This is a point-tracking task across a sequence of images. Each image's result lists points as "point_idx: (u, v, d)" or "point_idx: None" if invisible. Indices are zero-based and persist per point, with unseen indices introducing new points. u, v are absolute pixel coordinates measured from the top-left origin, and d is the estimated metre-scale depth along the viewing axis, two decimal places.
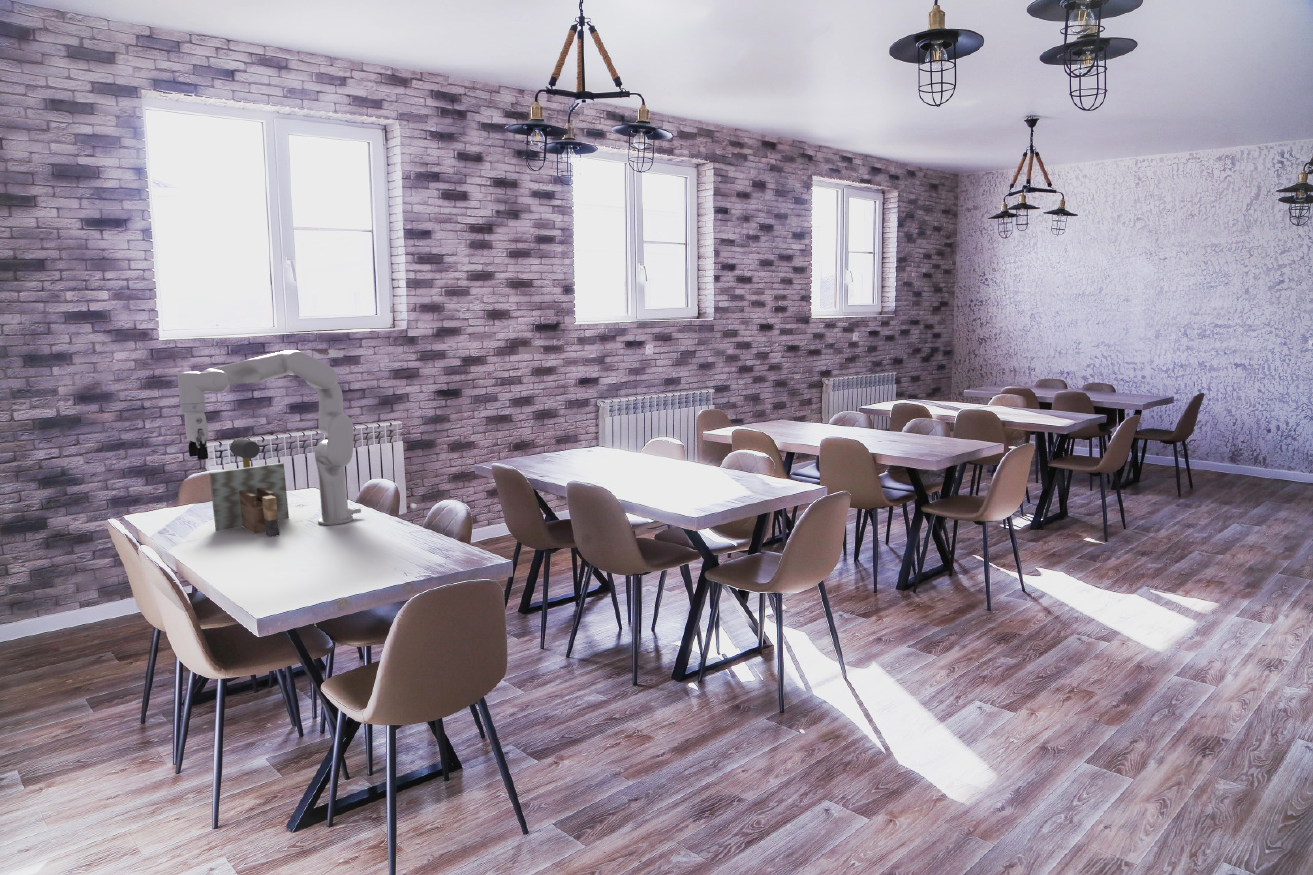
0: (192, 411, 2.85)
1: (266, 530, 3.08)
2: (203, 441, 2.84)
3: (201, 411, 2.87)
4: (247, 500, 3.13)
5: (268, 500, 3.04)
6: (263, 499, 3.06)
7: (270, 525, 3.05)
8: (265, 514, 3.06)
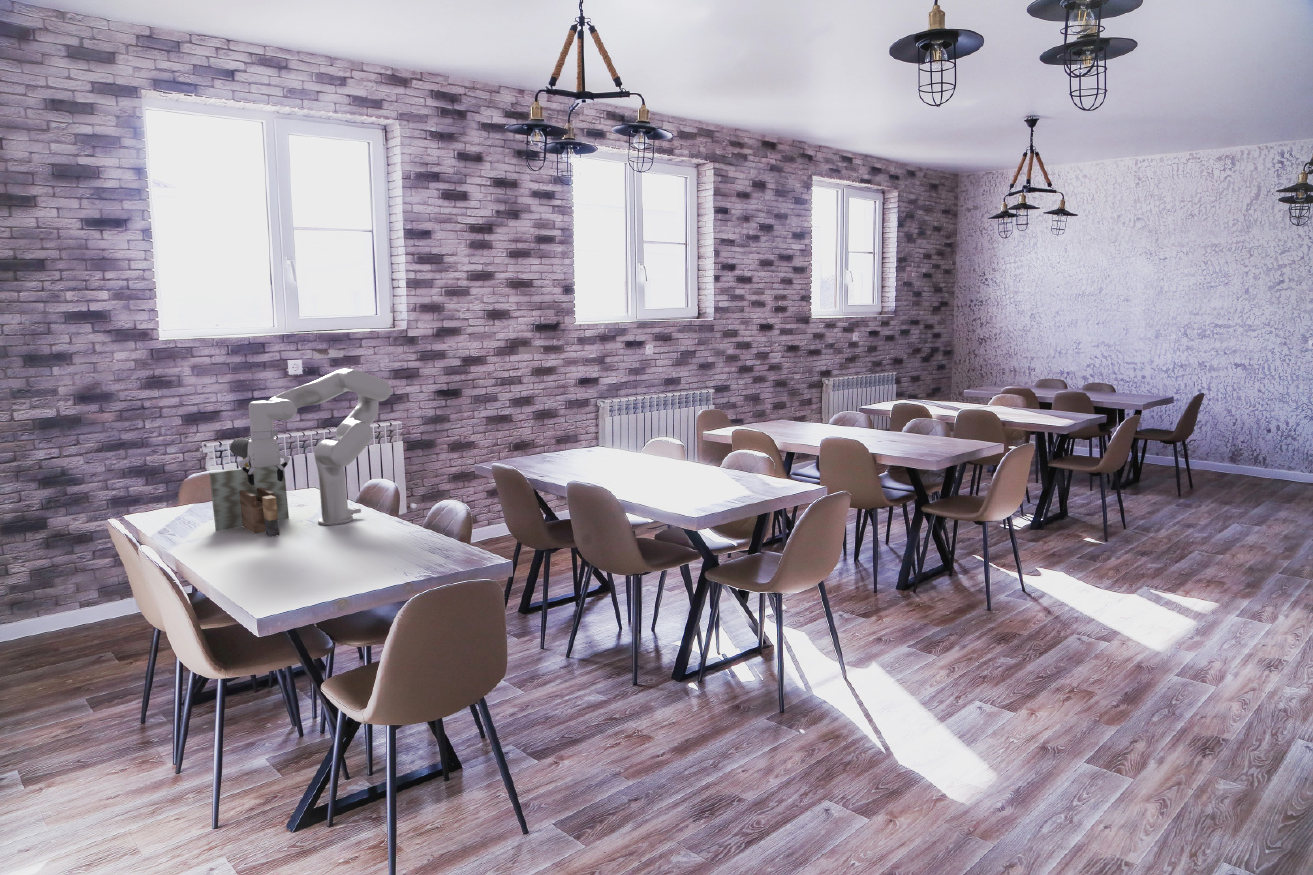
0: None
1: (266, 530, 3.08)
2: None
3: None
4: (247, 500, 3.13)
5: (268, 500, 3.04)
6: (263, 499, 3.06)
7: (270, 525, 3.05)
8: (265, 514, 3.06)
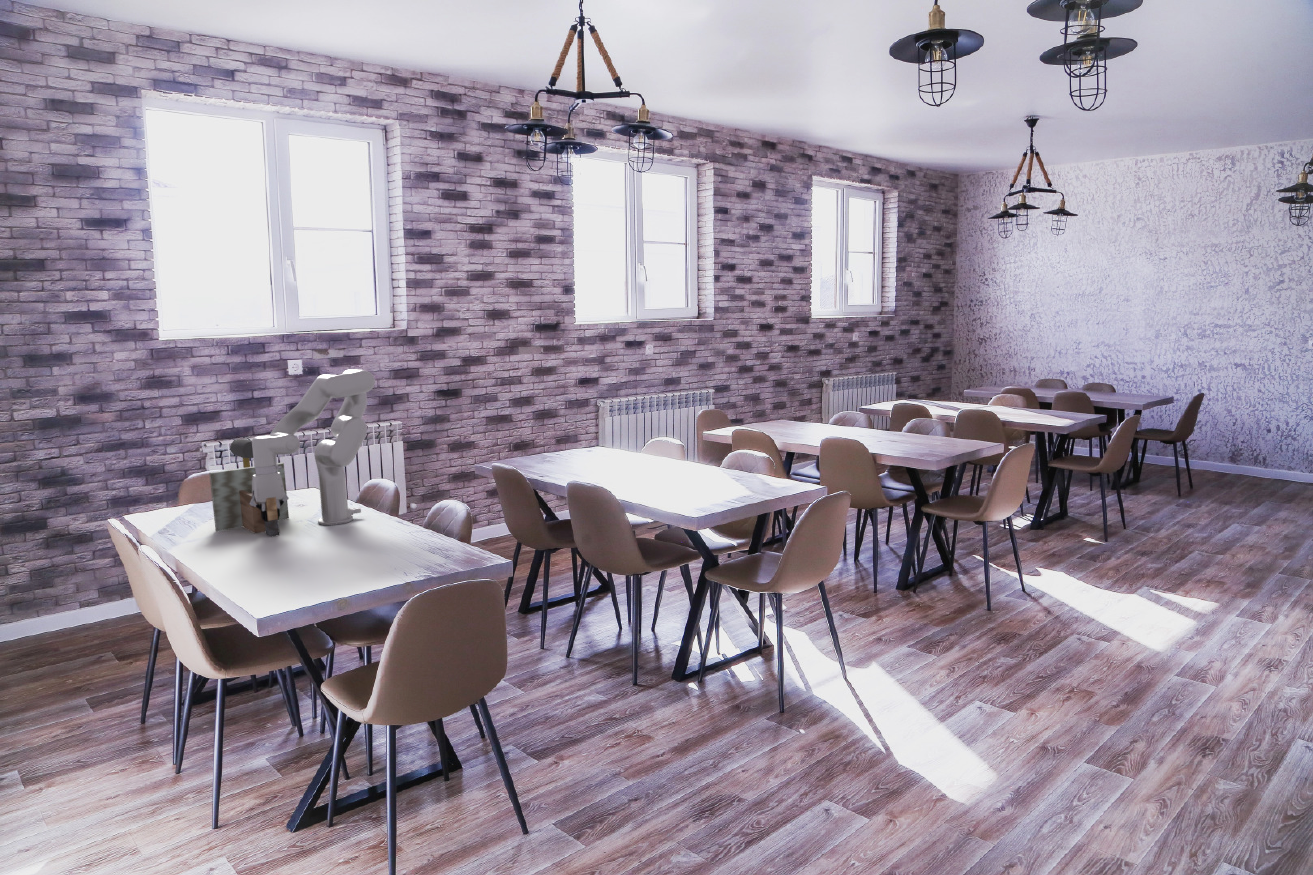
0: (277, 471, 3.06)
1: (266, 530, 3.08)
2: None
3: None
4: (247, 500, 3.13)
5: (268, 500, 3.04)
6: None
7: (270, 525, 3.05)
8: None
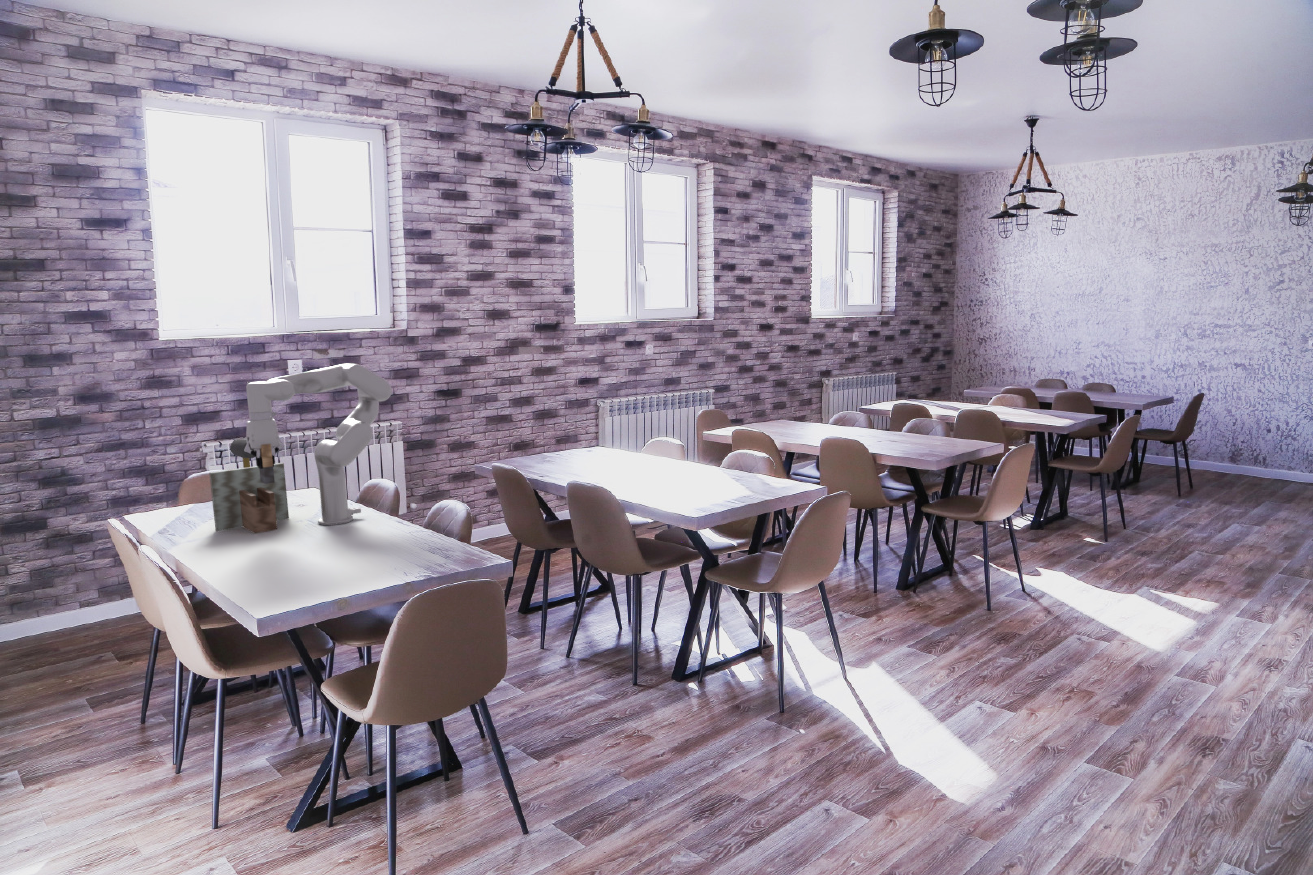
0: (272, 417, 3.03)
1: (261, 478, 3.05)
2: None
3: None
4: (247, 500, 3.13)
5: (263, 446, 3.01)
6: None
7: (265, 472, 3.02)
8: None
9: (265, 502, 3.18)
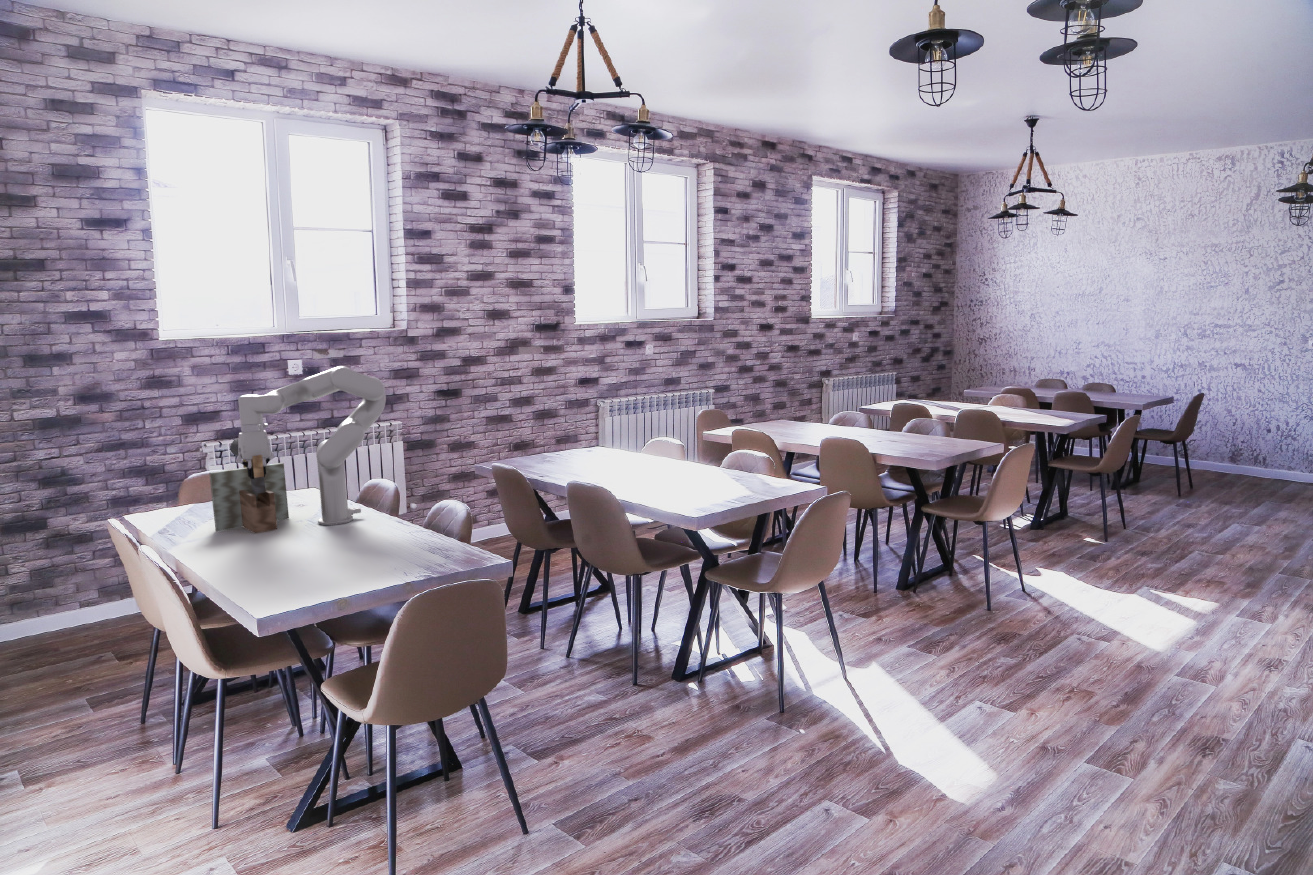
0: (264, 429, 3.12)
1: (253, 488, 3.13)
2: None
3: None
4: (247, 500, 3.13)
5: (254, 457, 3.10)
6: None
7: (256, 482, 3.11)
8: None
9: (265, 502, 3.18)
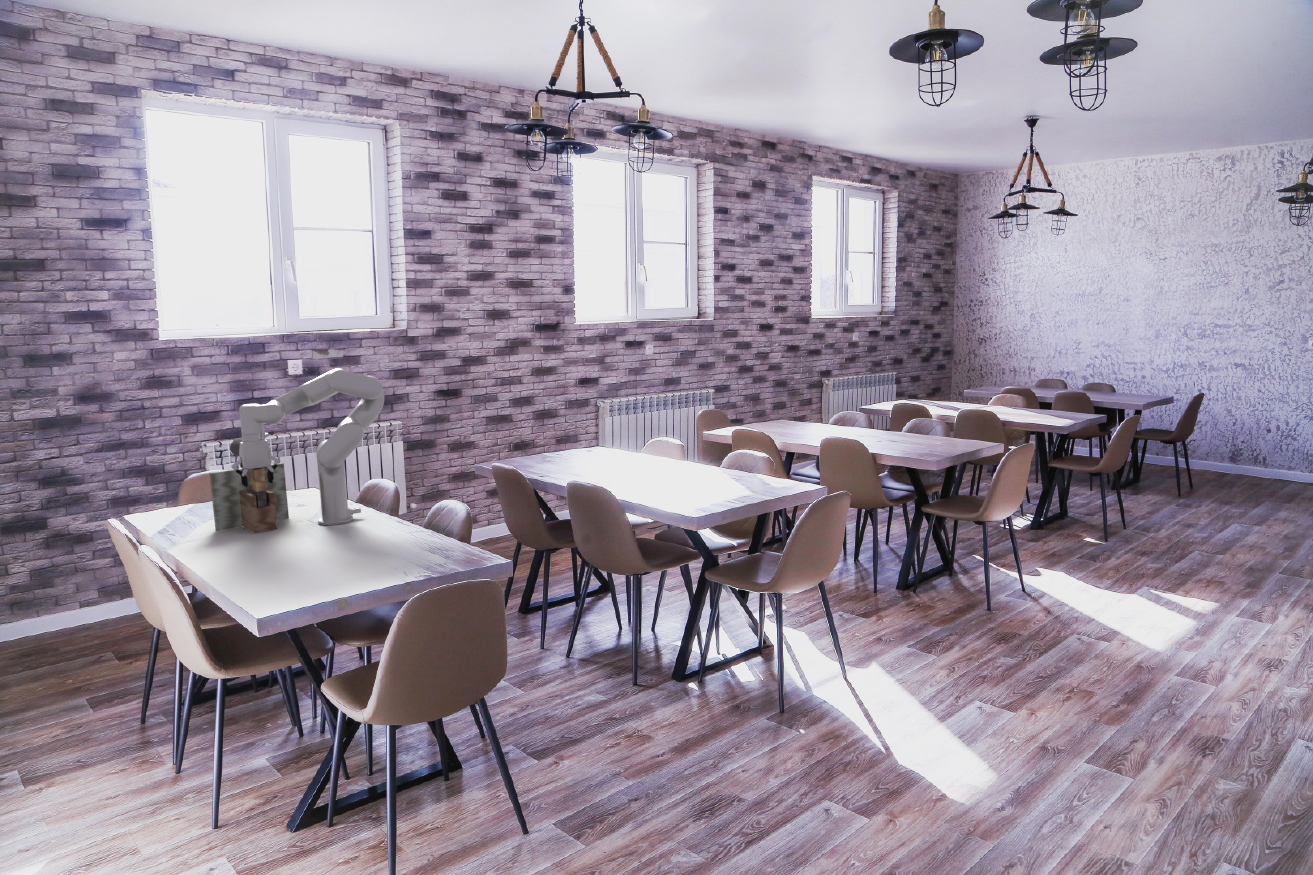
0: None
1: None
2: None
3: None
4: (247, 500, 3.13)
5: (256, 471, 3.10)
6: (251, 471, 3.13)
7: (258, 496, 3.12)
8: (253, 485, 3.13)
9: None
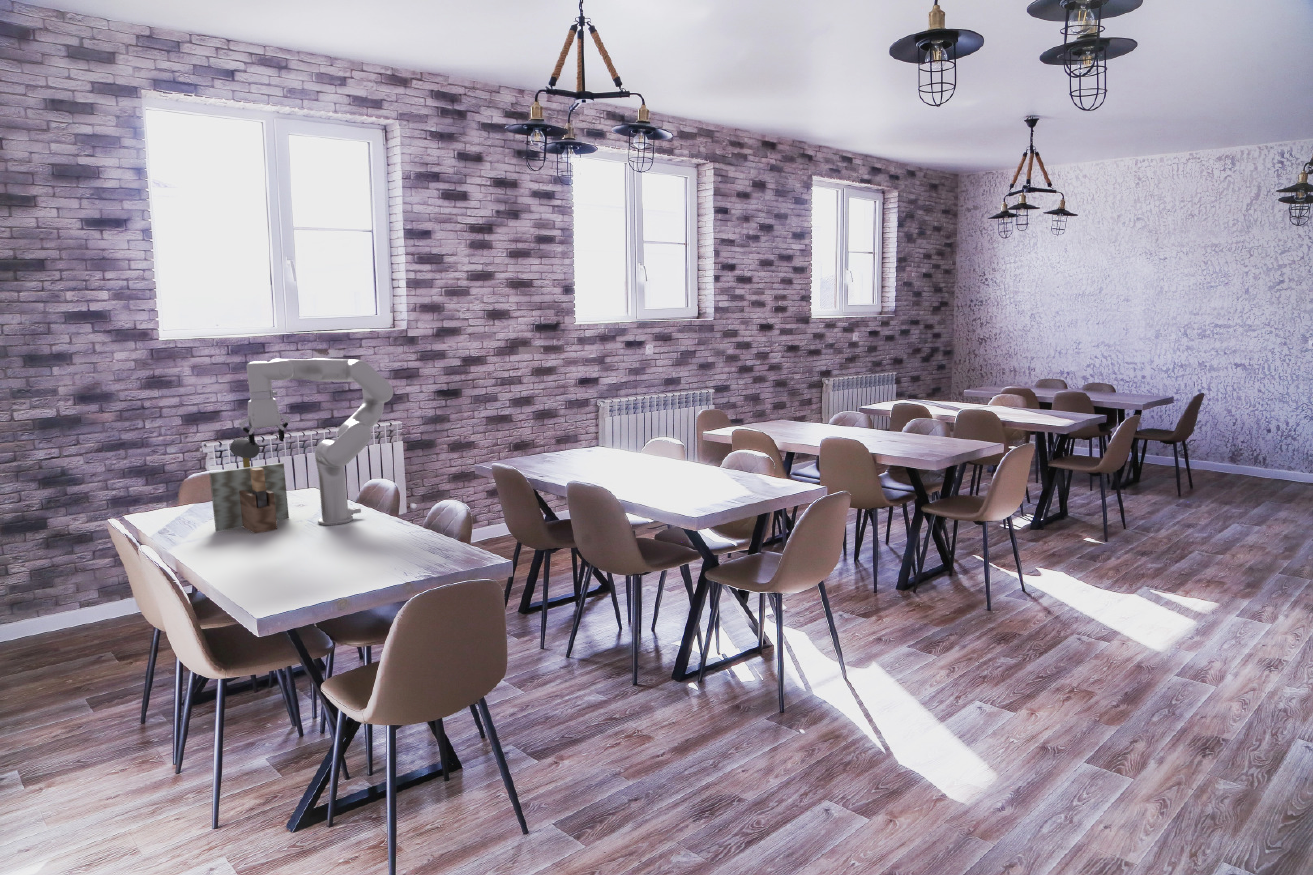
0: None
1: None
2: None
3: None
4: (247, 500, 3.13)
5: (256, 471, 3.10)
6: (251, 471, 3.13)
7: (258, 496, 3.12)
8: (253, 485, 3.13)
9: None
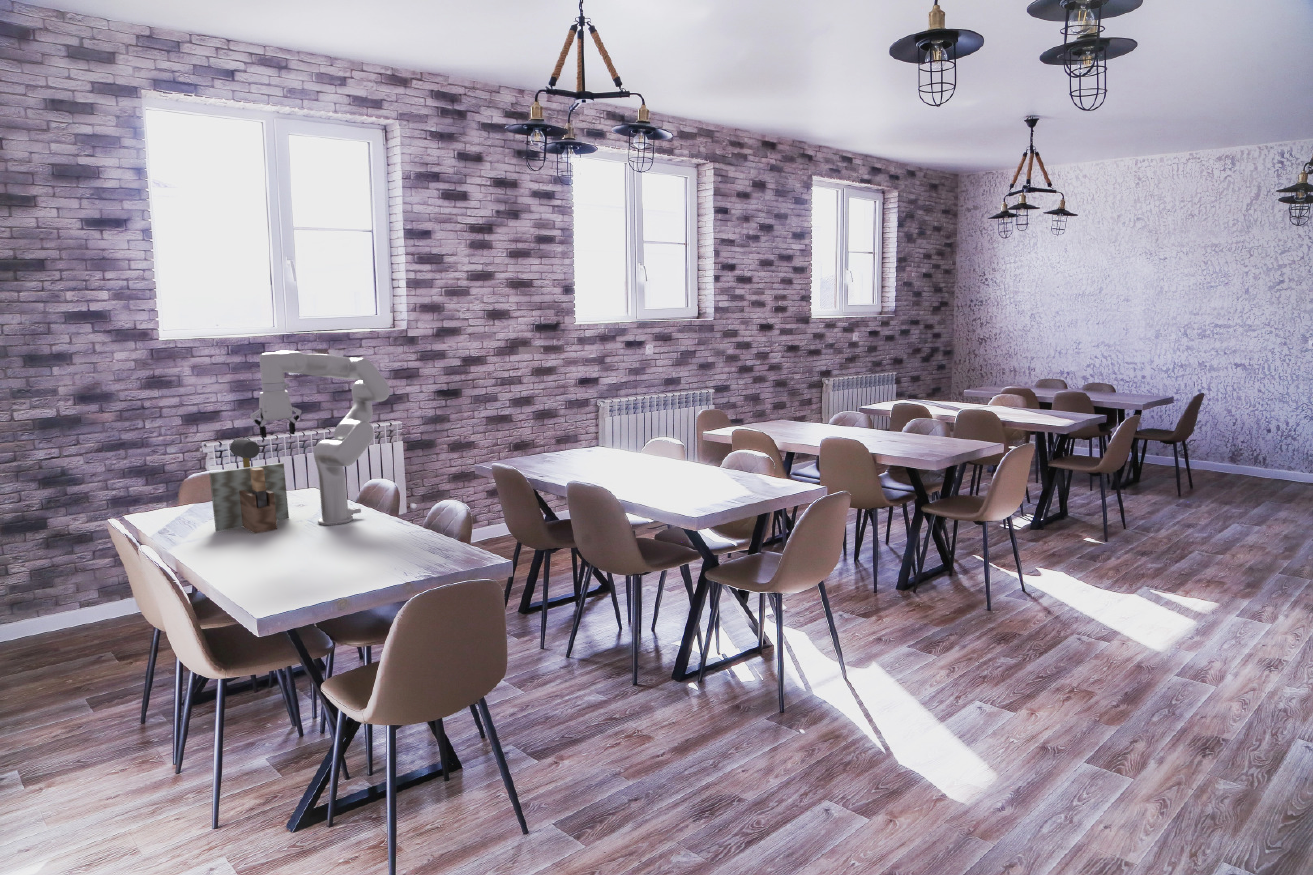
0: (285, 389, 3.01)
1: None
2: None
3: None
4: (247, 500, 3.13)
5: (256, 471, 3.10)
6: (251, 471, 3.13)
7: (258, 496, 3.12)
8: (253, 485, 3.13)
9: None
